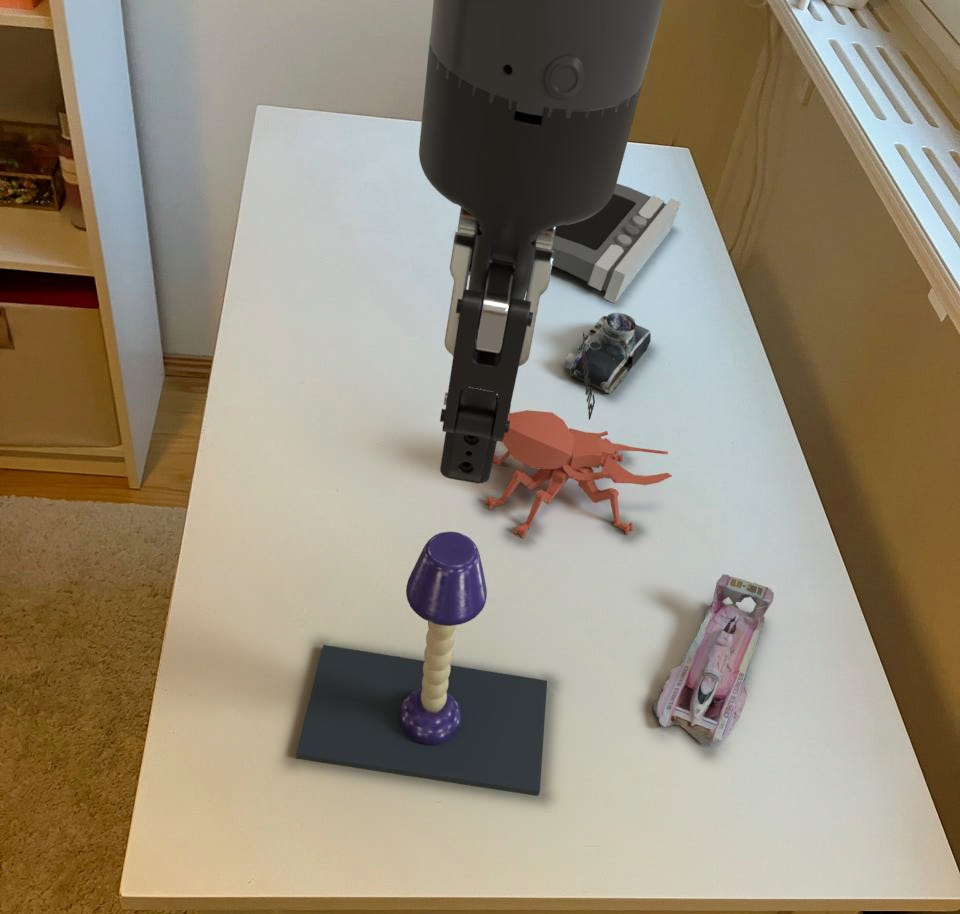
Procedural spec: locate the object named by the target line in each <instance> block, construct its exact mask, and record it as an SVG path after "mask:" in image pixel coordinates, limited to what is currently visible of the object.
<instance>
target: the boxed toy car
mask: <svg viewBox="0 0 960 914" xmlns="http://www.w3.org/2000/svg"><path fill="white" fill-rule="evenodd" d="M774 595H775V592H774V591H772V589H771V588H769V587H768V586H764V585H762V584H759V583H756V582H751V581H748V580H745V579H742V578H738V577H734V576H730V575H729V574H722V575H721V577H720V578H719V579H718V580H717V581H716V584H715V589H714V592H713V599H712V602H711V604H710V605H709V607H708V608H707V610H706V614H705V615H704V617H705V618H704V620H703V621H702V623H700V628H699V630H698V632H697V634H696V636H695V638H693V640H692V643H691V644H690V645H689V648H688V650H687V651H686V652H685V653H684V655H683V656H682V658H681V661H682V662H681V663H680V664H679V665H678V666H675V667H672V668H671V670H670V671H669V674H670V675H669V676H668V679H667V680H666V681H665V682H663V683H662V686H661V690H662V692H661V693H660V694H659V695H658V697H657V699H656V700H654V701H655V702H654V704H653V711H654V714H655V715H656V717H657V718H658V722H659V724H660V726H662V727H663V728H667V727H671V726H675V725H678V726H680V727H681V728H682V729H684V730H685V731H686V732H688V734H690V735H691V736H692V737H693V738H694V739H696V741H697V742H698V743H700V744H701V745H702V746H703V747H705V746H707V745H711V744H713V743H715V742H719V741H720V742H721V740H722V739H723V738H724V737H725V736H726V735H728V734H729V732H730V731H731V730H732V728H733V727H734V725H735V724H736V723H737V721H739V719H740V717H741V714H742V712H743V709H744V708H745V707H744V706H745V705H746V704H745V703H746V701H747V697H748V694H747V689H746V688H745V682H746V678H747V674H748V669H749V668H750V666H751V665H750V664H751V659H752V656H753V654H754V651H755V649H756V646H757V643H758V641H759V637H760V634H761V632H762V631H763V626H764V623H765V616H764V615H765V614H766V613H767V611H768V609H769V608H770V606H771V605H772V603H773V602H774ZM728 598H729V600H730V601H731V603H728V604H726V603H724V601H725V600H726V599H728ZM747 598H750V599H751V600H752V601H753V602H754V603H755V606H754V608H753V610H752V611H750V612H749V611H746V610H742V609H741V608H739V606H738V605H737V603H742V602H743V601H744V599H747Z"/></svg>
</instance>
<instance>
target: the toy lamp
mask: <svg viewBox="0 0 960 914" xmlns="http://www.w3.org/2000/svg"><path fill="white" fill-rule="evenodd" d="M405 588H406V589H405V595H406V600H407V603H408V604H409V607H410V608H411V610H412V611H413V612H414V613H415V614H416V615H417V616H418V617H420V618H421V619H423V620H425V621H427V627H428V630H427V632H426V636H425V643H426V646H425V648H424V655H423V656H424V657H423V658H424V661H425V662H424V665H423V673H424V676H423V679H422V687H423V688H422V689H418V690H416V691H414V692H413V693H411V694H410V695H409V696H408V697H407V698H406V699H405V700H404V702H403V704H402V706H401V708H400V711H399V723H400V726H401V728H402V730H403V731H404V732H405V734H406V735H407V736H408V737H410V738H411V739H412V740H414V741H416V742H418V743H421V744H425V745H438V744H441V743H444V742H446V741H448V740H450V739H451V738H452V737H454V736H455V734H456V733H457V732H458V731H459V728H460V725H461V711H460V708H459V705H458V703H457V702H456V700H455V699H454V698H453V697H452V696H451V695H450V694H449V693H447V692H446V691H447V689H448V684H449V682H448V677H449V675H450V669H451V668H450V665H451V662H452V658H453V646H454V643H455V631H456V629H457V626H459V625H463V624H466V623H468V622H470V621H473V619H475V618H476V617H477V616H478V615H480V614H481V612H482V611H483V609H484V608H485V605H486V603H487V597H488V589H487V583H486V578H485V573H484V567H483V563H482V558H481V554H480V552H479V549H478V546H477V544H476V543H475V542H474V540H473V539H471V537H469V536H467V535H465V534H464V533H461V532H457V531H443V532H439V533H437V534H434V535H433V536H432V537H430V538H429V539H428V540H427V542H426V543H425V544H424V546H423V548H422V550H421V551H420V554H419V555H418V558H417V559H416V563H415V565H414V566H413V568H412V571H411V573H410V575H409V577H408V580H407V583H406V587H405Z"/></svg>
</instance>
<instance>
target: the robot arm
mask: <svg viewBox="0 0 960 914" xmlns="http://www.w3.org/2000/svg"><path fill="white" fill-rule="evenodd" d="M664 2H665V0H433V4H432V12H431V13H432V14H431V25H430V34H429V41H428V42H429V43H428V54H427V62H426V63H427V66H426V75H425V84H424V95H423V104H422V105H423V106H422V114H421V115H422V116H421V123H420V125H421V126H420V136H419V146H418V157H419V164H420V167H421V170H422V171H423V174H424V176H425V177H426V179H427V181H428V182H429V183H430V185H431V186H432V187H433V188H434V189H435V190H436V191H437V192H438V193H439V194H440V195H442V197H444V198H445V199H446V200H448V201H449V202H451V203H452V204H454V205H457V206H459V207H460V211H459V217H458V223H457V224H458V226H457V231H455V233H454V237H453V238H454V239H453V244H452V250H451V256H450V263H449V272H450V276H451V278H452V280H453V285H452V291H451V298H450V305H449V310H448V317H447V322H446V323H447V324H446V330H445V335H444V347H445V349H446V351H447V352H448V353H449V354H451V355H452V362H451V369H450V377H449V383H448V389H447V392H445V393H444V400H443V406H445V409H444V408H441V411H440V417H439V423H442V430H441V431H442V432H445V434H444V441H443V446H442V454H441V459H440V467H439V472H440V473H441V475H442V476H443V477H445V478H447V479H451V480H456V481H461V482H466V483H473V484H478V485H479V484H480V485H481V484H485V483H487V482H488V481H489V480H490V477H491V472H492V467H493V464H494V462H493V458H494V455H495V453H496V448H497V444H498V442H500V443H503V439H504V434H505V433H507V434H508V431H509V426H510V421H507V420H508V416H509V414H510V413H511V409H512V408H511V407H512V401H513V395H514V390H515V387H516V382H517V376H518V371H519V367H521V366H524V365H525V364H526V363H527V362H528V360H529V359H530V354H531V350H532V349H531V348H532V342H533V337H534V332H535V327H536V320H537V315H538V310H539V303H540V299H541V296H542V295H544V293H545V292H547V289H548V288H549V285H550V279H551V275H552V269H553V265H552V264H553V258H554V250H551V248H552V245H553V240H554V236H555V230H556V226H560V225H570V224H574V223H577V222H580V221H583V220H585V219H588V218H590V217H591V216H593V215H595V214H596V213H598V212H599V211H600V210H601V209H603V208H604V207H605V206H606V204H607V203H608V202H609V200H610V199H611V197H612V195H613V193H614V191H615V187H616V183H617V184H618V179H619V175H620V172H621V167H622V165H623V161H624V157H625V152H626V149H627V145H628V142H629V138H630V134H631V130H632V126H633V123H634V118H635V114H636V110H637V108H638V107H637V106H638V103H639V99H640V96H641V91H642V88H643V83H644V80H645V76H646V73H647V72H646V71H647V68H648V64H649V60H650V56H651V53H652V49H653V45H654V43H655V38H656V34H657V30H658V27H659V23H660V19H661V15H662V11H663V6H664ZM467 287H468V288H467Z"/></svg>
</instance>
